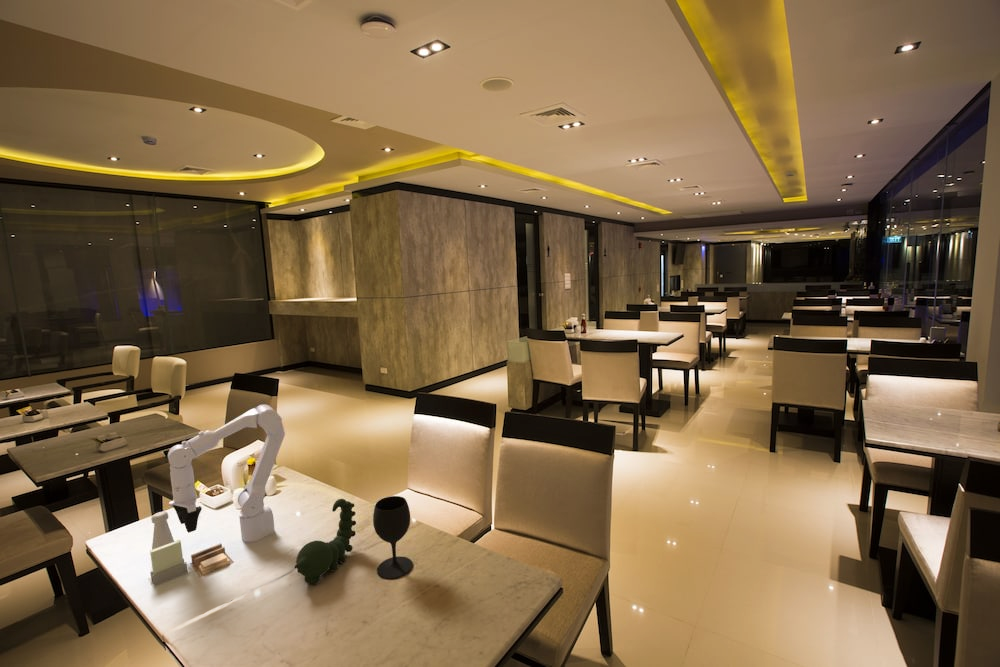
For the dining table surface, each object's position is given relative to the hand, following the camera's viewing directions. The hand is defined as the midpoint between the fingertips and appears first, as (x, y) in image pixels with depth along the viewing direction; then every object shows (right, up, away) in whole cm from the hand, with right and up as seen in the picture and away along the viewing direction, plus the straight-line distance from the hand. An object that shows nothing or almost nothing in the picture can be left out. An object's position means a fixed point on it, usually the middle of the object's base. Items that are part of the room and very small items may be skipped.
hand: (188, 526), depth 141 cm
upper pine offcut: (+11, -9, -5) cm, 15 cm away
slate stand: (0, -11, -8) cm, 14 cm away
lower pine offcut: (+11, -10, -4) cm, 15 cm away
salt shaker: (-11, -11, +5) cm, 16 cm away
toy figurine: (+45, -10, -6) cm, 47 cm away
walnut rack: (+9, -11, -3) cm, 14 cm away
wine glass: (+65, -9, -7) cm, 66 cm away
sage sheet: (0, -11, -8) cm, 13 cm away
